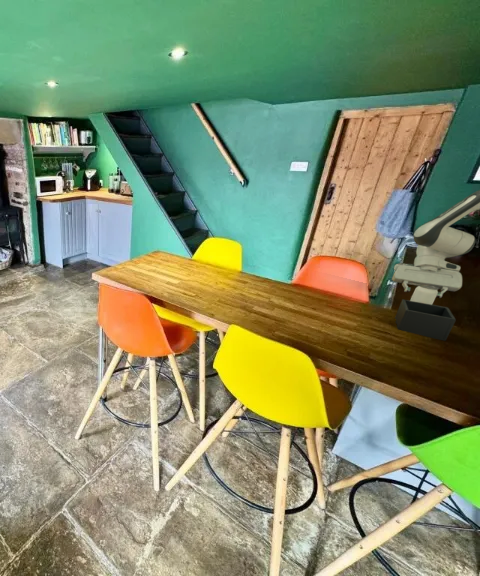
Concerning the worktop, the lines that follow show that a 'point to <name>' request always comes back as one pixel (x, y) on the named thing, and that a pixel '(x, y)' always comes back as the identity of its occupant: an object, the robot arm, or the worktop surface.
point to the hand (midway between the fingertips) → (422, 294)
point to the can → (424, 294)
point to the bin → (424, 319)
